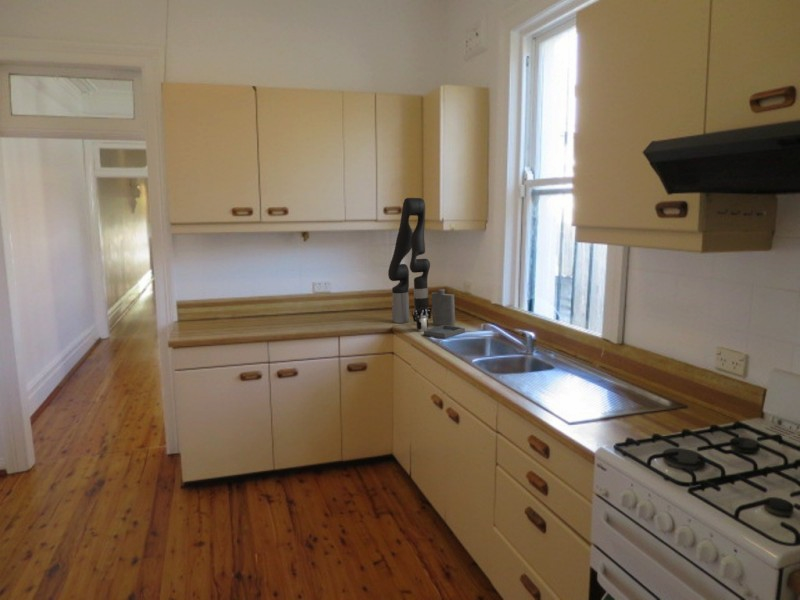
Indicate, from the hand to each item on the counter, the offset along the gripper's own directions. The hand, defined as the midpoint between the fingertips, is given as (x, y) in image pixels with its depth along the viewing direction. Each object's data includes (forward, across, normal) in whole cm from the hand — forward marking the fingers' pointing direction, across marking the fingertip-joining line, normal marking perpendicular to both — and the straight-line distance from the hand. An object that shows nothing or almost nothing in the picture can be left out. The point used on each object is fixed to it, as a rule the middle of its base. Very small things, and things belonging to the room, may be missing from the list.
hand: (422, 328), depth 303 cm
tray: (+1, 0, +15) cm, 15 cm away
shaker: (+1, 0, 0) cm, 1 cm away
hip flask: (+2, -16, +1) cm, 16 cm away
